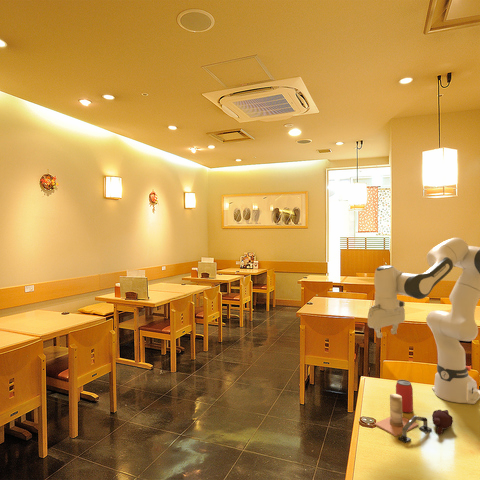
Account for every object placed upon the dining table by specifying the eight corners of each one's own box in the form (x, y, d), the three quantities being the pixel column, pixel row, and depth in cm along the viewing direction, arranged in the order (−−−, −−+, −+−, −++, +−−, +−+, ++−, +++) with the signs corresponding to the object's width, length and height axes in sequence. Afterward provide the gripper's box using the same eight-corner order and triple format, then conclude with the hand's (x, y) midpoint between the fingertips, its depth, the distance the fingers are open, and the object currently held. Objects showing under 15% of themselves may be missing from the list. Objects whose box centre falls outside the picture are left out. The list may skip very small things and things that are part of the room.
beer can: (415, 414, 144) (414, 385, 144) (398, 412, 146) (397, 384, 146) (410, 406, 151) (409, 379, 151) (394, 405, 152) (394, 378, 152)
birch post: (395, 419, 139) (394, 392, 139) (406, 424, 135) (405, 397, 135) (387, 422, 137) (386, 395, 137) (398, 428, 133) (397, 400, 133)
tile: (396, 415, 144) (396, 413, 144) (418, 425, 135) (418, 424, 135) (374, 424, 137) (374, 423, 137) (396, 436, 128) (396, 434, 128)
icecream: (434, 401, 142) (423, 418, 131) (454, 402, 137) (444, 420, 126) (440, 418, 141) (429, 436, 131) (460, 419, 136) (450, 439, 125)
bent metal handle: (424, 426, 134) (423, 408, 134) (431, 430, 132) (431, 411, 132) (398, 439, 126) (397, 420, 126) (405, 443, 124) (405, 423, 124)
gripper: (375, 307, 138) (376, 341, 138) (407, 301, 148) (408, 333, 148) (363, 305, 144) (364, 337, 144) (394, 299, 154) (395, 330, 154)
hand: (386, 335), depth 146 cm, fingers open, 8 cm apart
